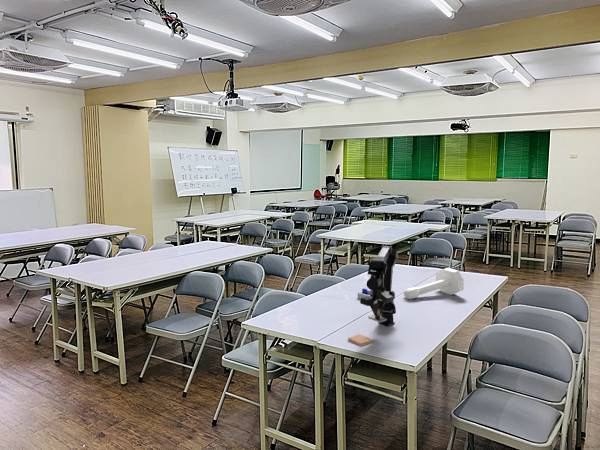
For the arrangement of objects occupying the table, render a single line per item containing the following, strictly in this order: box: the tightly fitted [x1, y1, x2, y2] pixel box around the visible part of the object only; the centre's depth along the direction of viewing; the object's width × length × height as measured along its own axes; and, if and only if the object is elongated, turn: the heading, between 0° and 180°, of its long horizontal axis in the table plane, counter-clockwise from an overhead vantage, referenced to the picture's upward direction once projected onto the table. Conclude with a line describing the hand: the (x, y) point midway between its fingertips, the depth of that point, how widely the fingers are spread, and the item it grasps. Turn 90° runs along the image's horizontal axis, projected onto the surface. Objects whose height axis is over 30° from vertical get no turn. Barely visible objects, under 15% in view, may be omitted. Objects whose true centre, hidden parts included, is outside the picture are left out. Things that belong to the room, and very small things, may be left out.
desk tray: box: [357, 289, 372, 300], centre depth 296 cm, size 10×18×4 cm, turn 126°
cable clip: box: [361, 287, 372, 295], centre depth 296 cm, size 12×4×6 cm, turn 124°
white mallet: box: [403, 267, 465, 300], centre depth 296 cm, size 24×18×35 cm
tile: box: [347, 333, 374, 347], centre depth 221 cm, size 9×2×8 cm
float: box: [367, 307, 387, 323], centre depth 227 cm, size 8×5×6 cm, turn 36°
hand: (377, 315), depth 227 cm, fingers closed on float, 2 cm apart
